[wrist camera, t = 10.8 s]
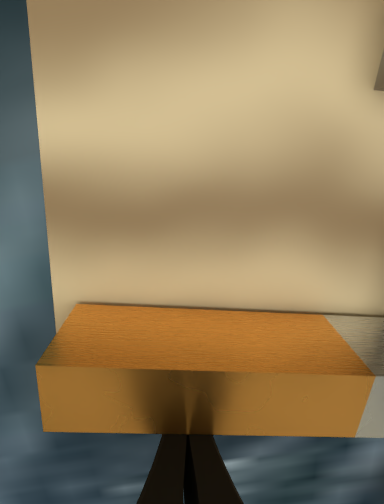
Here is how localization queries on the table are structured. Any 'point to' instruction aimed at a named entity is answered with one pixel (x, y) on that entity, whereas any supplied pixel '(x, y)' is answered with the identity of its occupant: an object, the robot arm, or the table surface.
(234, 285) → the base
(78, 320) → the block
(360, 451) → the table surface
